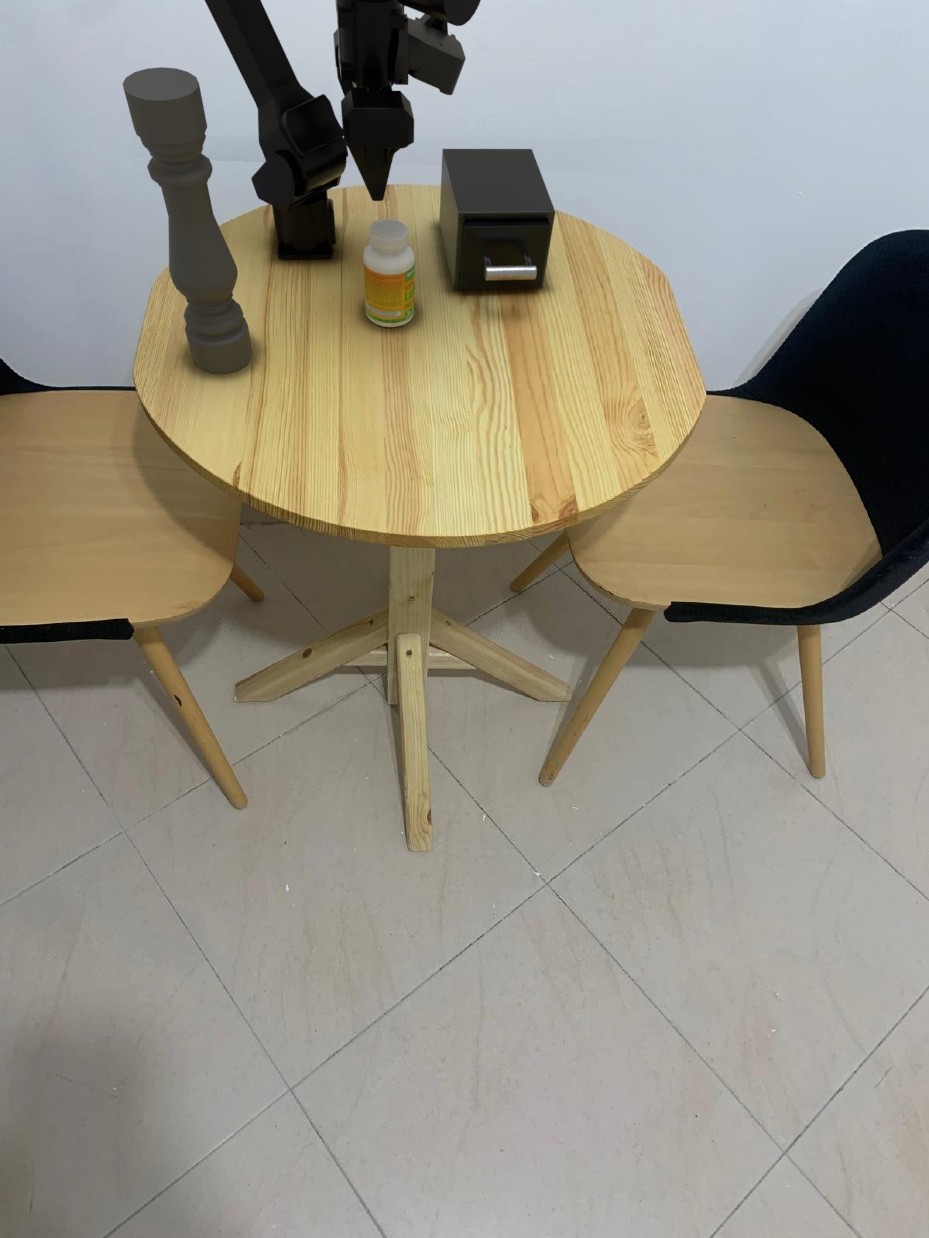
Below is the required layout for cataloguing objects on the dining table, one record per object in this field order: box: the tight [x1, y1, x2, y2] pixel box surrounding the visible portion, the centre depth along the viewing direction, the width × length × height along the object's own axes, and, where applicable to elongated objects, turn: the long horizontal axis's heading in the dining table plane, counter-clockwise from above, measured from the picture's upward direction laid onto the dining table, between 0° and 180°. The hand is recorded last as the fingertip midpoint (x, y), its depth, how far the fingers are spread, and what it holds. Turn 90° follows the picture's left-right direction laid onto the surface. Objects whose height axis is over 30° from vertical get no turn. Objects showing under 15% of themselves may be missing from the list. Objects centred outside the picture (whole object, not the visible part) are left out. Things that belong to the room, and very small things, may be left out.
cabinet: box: [438, 148, 556, 291], centre depth 90 cm, size 14×11×9 cm
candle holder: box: [122, 66, 254, 375], centre depth 70 cm, size 6×6×25 cm
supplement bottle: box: [362, 218, 416, 328], centre depth 82 cm, size 5×5×10 cm
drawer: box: [459, 219, 551, 290], centre depth 88 cm, size 17×9×7 cm, turn 8°
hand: (374, 176), depth 79 cm, fingers open, 9 cm apart
